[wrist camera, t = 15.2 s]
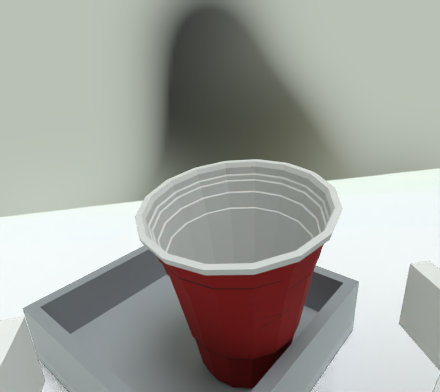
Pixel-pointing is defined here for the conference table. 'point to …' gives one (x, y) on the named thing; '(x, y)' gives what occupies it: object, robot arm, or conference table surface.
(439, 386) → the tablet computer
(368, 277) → the conference table surface
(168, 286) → the bin
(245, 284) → the plastic cup
